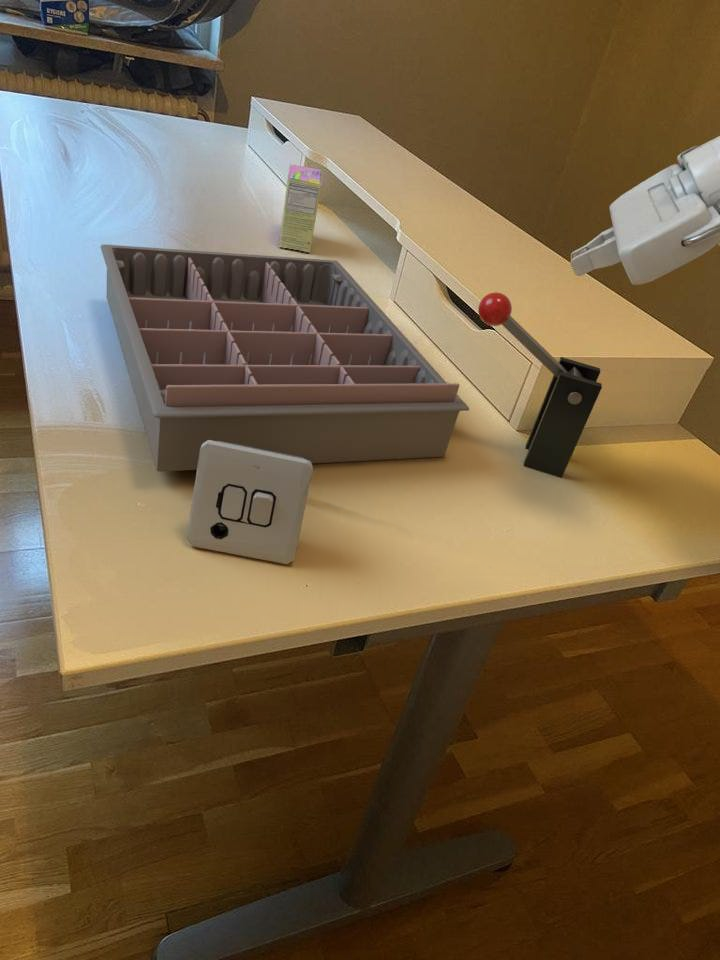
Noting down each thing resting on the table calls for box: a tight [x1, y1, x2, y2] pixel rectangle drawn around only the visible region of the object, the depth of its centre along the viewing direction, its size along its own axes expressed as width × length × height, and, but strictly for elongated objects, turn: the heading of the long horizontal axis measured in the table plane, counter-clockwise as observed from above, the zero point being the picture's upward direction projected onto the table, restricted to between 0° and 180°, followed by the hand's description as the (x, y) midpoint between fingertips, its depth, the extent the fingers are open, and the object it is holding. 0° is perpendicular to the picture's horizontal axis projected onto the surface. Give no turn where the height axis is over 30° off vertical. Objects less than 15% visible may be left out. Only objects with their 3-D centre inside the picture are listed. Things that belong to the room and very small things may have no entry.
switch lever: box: [477, 291, 587, 379], centre depth 78 cm, size 15×3×3 cm, turn 76°
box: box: [278, 164, 322, 254], centre depth 129 cm, size 10×6×12 cm, turn 2°
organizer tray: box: [100, 244, 470, 473], centre depth 86 cm, size 32×40×10 cm
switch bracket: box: [523, 356, 603, 479], centre depth 81 cm, size 12×10×13 cm
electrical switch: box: [186, 440, 314, 565], centre depth 63 cm, size 9×5×9 cm, turn 87°
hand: (572, 265), depth 73 cm, fingers closed
